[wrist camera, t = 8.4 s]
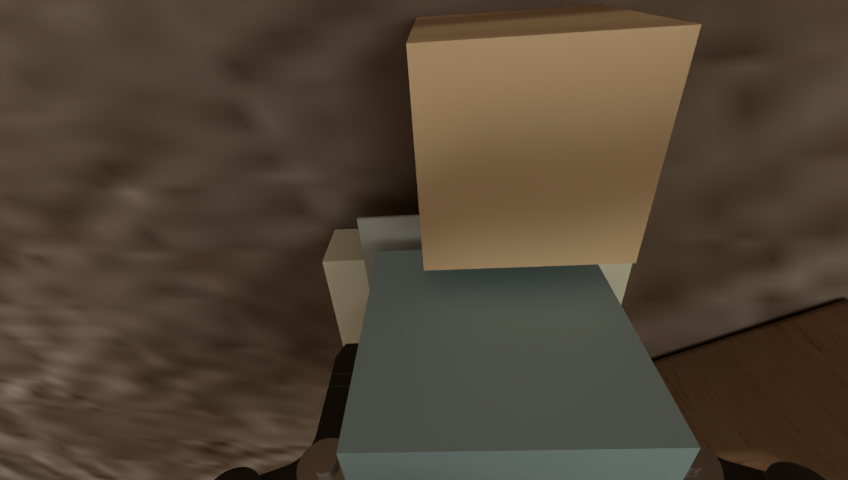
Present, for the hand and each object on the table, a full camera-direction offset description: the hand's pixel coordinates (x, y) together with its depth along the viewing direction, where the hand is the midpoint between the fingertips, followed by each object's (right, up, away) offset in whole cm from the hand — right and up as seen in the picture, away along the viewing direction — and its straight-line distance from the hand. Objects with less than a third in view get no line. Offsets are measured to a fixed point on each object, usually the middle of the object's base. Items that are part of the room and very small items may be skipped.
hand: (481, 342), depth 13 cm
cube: (0, 0, +1) cm, 1 cm away
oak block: (+1, +7, 0) cm, 7 cm away
